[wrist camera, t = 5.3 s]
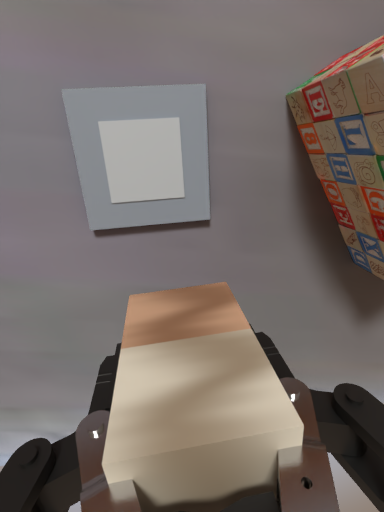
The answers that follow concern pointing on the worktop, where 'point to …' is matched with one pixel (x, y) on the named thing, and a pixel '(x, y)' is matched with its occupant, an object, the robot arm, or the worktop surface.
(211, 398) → the cream and brown block
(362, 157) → the stack of blocks
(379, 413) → the robot arm
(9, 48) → the worktop surface
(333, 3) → the worktop surface
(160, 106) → the base plate
